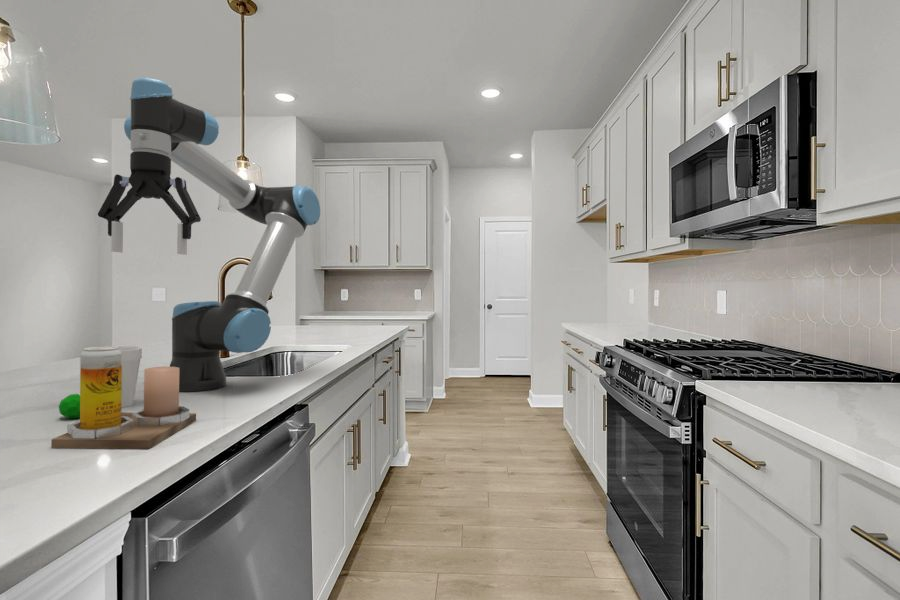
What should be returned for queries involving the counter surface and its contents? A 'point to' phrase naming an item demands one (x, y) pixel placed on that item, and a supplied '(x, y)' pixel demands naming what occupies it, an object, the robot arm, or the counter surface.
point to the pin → (161, 391)
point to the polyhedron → (70, 406)
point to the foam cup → (129, 372)
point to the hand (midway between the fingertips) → (149, 253)
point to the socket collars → (126, 424)
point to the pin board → (126, 437)
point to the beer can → (100, 387)
